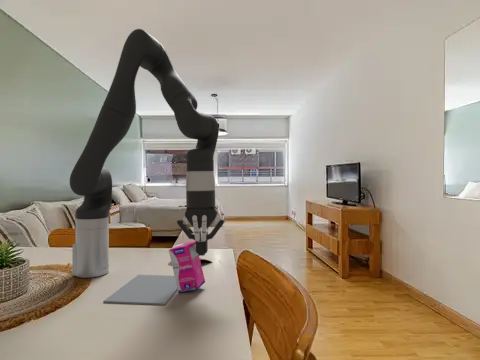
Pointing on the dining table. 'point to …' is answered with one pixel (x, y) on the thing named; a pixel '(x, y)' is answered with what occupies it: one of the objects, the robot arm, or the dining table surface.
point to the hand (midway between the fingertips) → (201, 254)
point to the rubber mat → (145, 290)
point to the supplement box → (186, 267)
